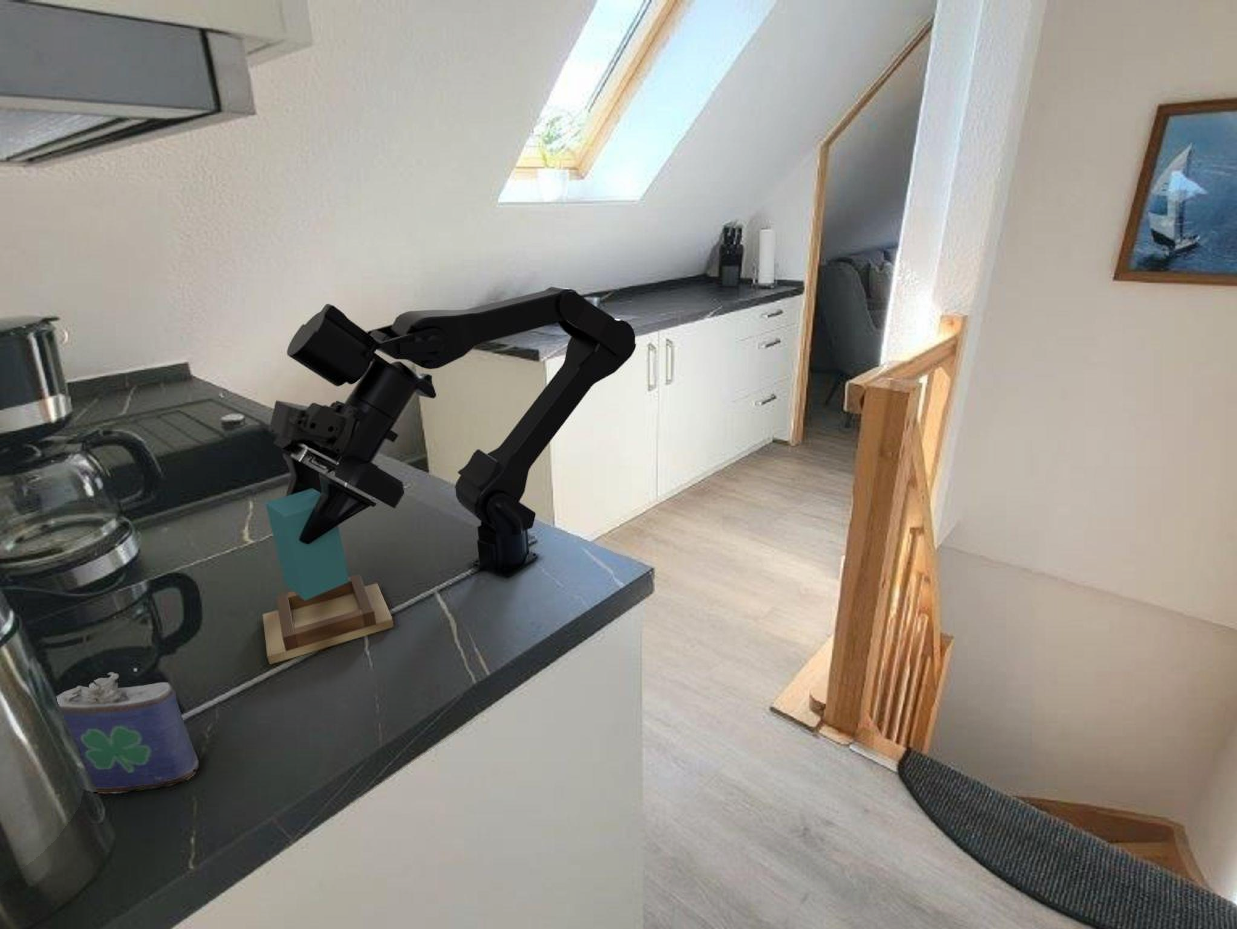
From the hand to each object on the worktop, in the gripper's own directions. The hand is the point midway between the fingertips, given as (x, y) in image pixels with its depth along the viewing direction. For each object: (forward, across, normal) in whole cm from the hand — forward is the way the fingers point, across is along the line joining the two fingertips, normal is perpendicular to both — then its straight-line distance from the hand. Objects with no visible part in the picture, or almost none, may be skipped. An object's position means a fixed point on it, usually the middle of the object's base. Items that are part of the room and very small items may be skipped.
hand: (292, 534), depth 69 cm
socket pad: (+8, -2, +11) cm, 14 cm away
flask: (+23, +8, -4) cm, 24 cm away
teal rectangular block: (+4, 0, +6) cm, 7 cm away
